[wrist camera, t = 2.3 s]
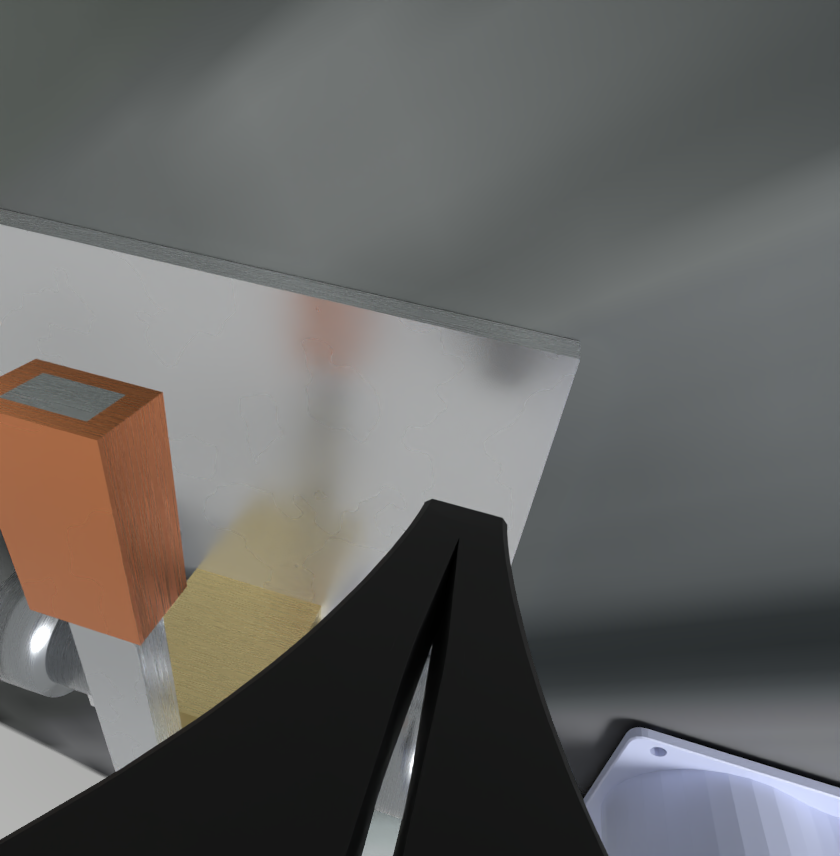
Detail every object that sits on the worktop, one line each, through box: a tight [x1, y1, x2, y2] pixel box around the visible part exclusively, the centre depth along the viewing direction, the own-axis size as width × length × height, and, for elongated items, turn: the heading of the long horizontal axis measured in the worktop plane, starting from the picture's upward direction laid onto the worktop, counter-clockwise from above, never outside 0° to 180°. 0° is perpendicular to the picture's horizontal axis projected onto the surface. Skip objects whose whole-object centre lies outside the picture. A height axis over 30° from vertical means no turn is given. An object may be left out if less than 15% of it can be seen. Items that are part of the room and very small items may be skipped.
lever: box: [0, 359, 187, 772], centre depth 12 cm, size 14×3×1 cm, turn 171°
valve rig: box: [0, 209, 580, 819], centre depth 17 cm, size 16×22×6 cm
